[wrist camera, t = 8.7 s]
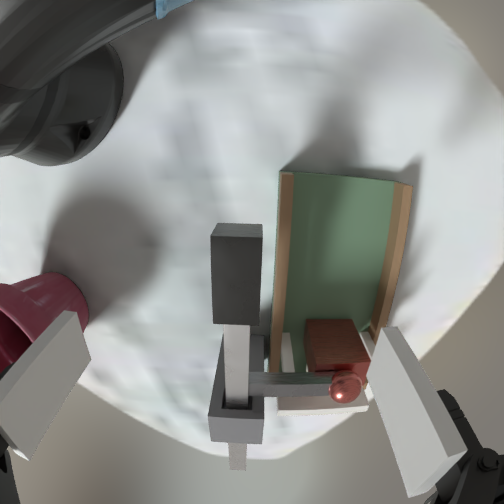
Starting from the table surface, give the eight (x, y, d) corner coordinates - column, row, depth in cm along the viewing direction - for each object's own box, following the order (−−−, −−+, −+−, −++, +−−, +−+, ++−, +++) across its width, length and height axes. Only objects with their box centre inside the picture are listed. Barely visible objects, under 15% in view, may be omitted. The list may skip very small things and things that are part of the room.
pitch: (221, 169, 27) (192, 186, 15) (397, 181, 27) (471, 207, 15) (224, 371, 35) (212, 451, 24) (358, 371, 35) (384, 444, 23)
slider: (227, 204, 26) (208, 238, 17) (369, 211, 26) (421, 246, 17) (230, 414, 36) (224, 476, 26) (326, 414, 35) (337, 474, 26)
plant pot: (76, 238, 30) (3, 285, 18) (125, 340, 34) (82, 411, 22) (12, 267, 31) (-47, 308, 19) (55, 350, 36) (12, 404, 24)
